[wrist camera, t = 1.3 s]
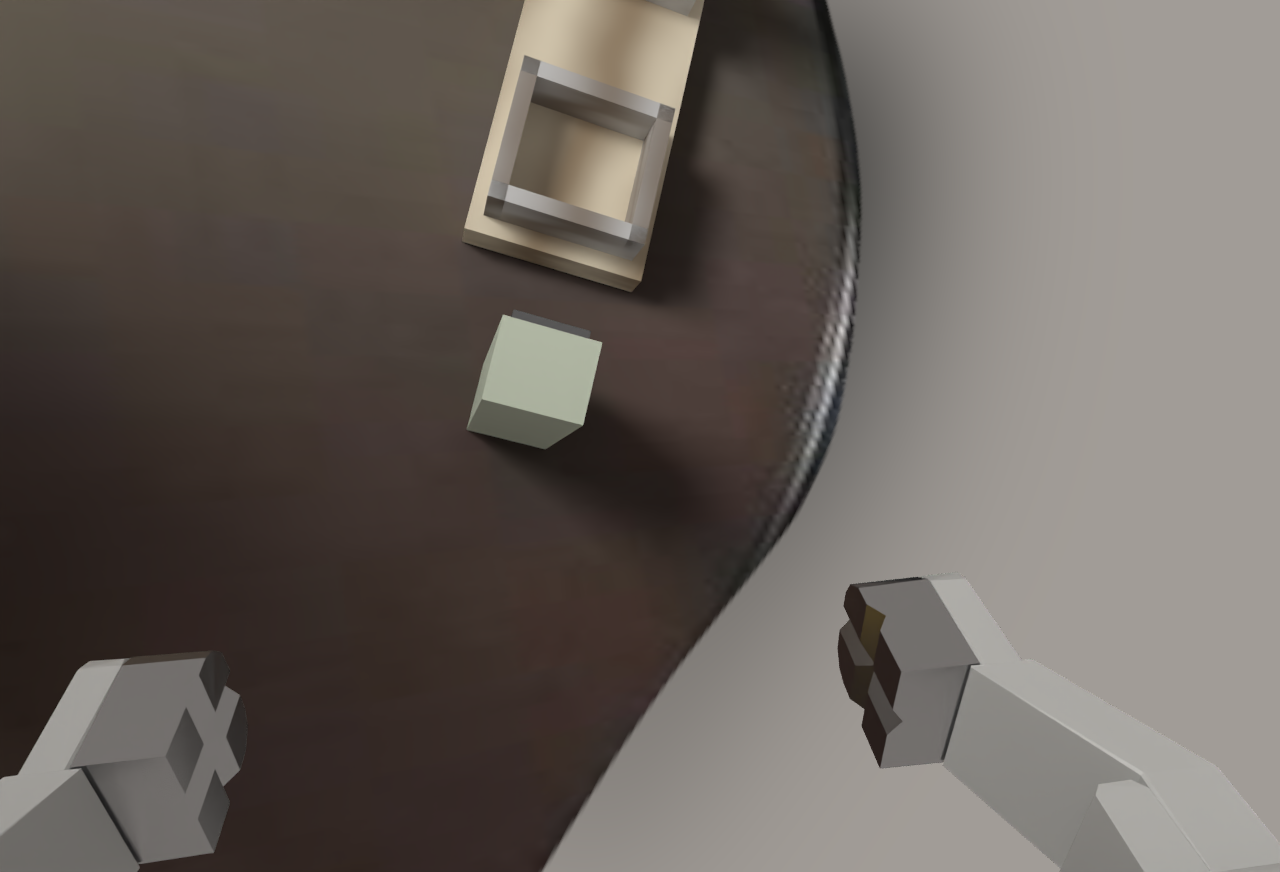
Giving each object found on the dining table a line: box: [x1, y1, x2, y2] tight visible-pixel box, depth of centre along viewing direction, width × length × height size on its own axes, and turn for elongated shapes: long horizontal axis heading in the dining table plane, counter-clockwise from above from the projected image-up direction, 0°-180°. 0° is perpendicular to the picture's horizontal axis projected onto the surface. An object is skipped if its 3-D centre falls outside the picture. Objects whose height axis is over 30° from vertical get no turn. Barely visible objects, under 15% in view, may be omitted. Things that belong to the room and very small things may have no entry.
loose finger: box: [467, 310, 602, 449], centre depth 37 cm, size 4×4×10 cm
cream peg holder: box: [462, 0, 704, 292], centre depth 39 cm, size 9×23×12 cm, turn 168°
